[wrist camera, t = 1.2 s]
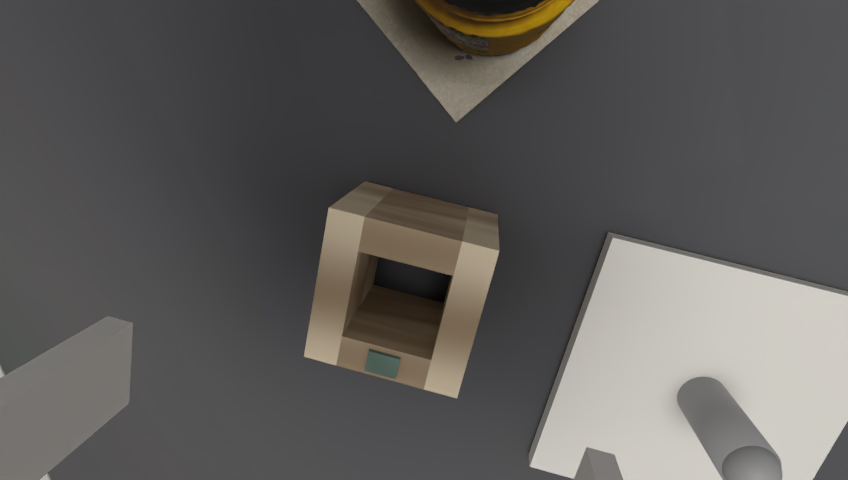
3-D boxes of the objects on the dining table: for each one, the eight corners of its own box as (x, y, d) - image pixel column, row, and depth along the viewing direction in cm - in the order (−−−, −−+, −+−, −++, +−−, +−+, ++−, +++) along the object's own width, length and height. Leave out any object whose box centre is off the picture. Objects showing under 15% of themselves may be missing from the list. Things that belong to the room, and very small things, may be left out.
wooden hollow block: (364, 181, 25) (327, 208, 20) (497, 214, 25) (499, 252, 19) (342, 301, 28) (302, 359, 22) (464, 333, 27) (456, 401, 21)
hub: (608, 231, 25) (652, 285, 18) (895, 303, 24) (1055, 387, 17) (528, 454, 29) (539, 565, 22) (769, 520, 28) (856, 656, 21)
